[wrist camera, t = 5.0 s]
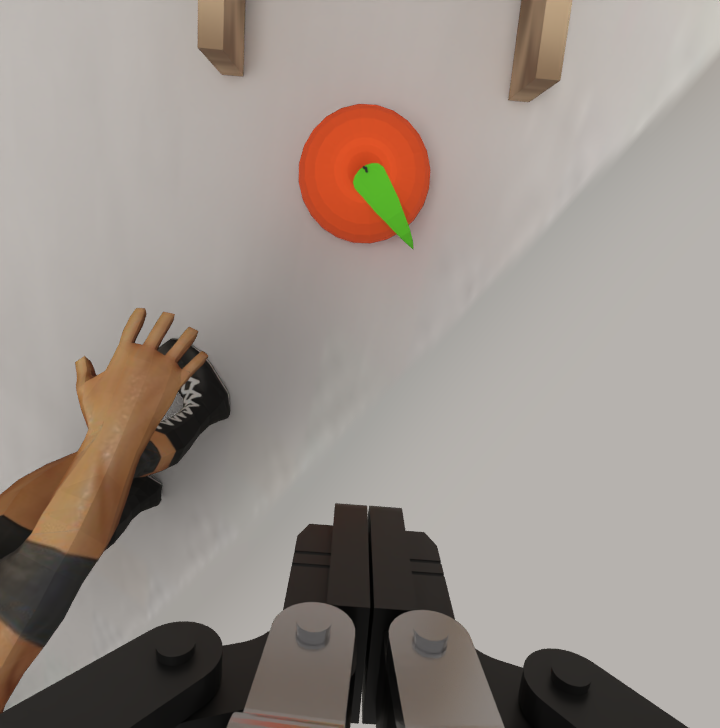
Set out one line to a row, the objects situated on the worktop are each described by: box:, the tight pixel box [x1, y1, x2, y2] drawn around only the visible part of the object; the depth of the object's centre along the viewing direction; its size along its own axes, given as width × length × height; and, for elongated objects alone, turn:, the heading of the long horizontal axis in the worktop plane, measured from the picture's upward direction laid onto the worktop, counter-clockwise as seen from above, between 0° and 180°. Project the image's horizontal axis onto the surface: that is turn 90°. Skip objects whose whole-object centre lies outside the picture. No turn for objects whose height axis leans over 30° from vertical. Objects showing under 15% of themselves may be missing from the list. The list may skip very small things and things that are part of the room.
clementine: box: [299, 104, 430, 249], centre depth 30 cm, size 8×7×7 cm
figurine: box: [0, 308, 230, 714], centre depth 22 cm, size 24×6×30 cm, turn 141°
